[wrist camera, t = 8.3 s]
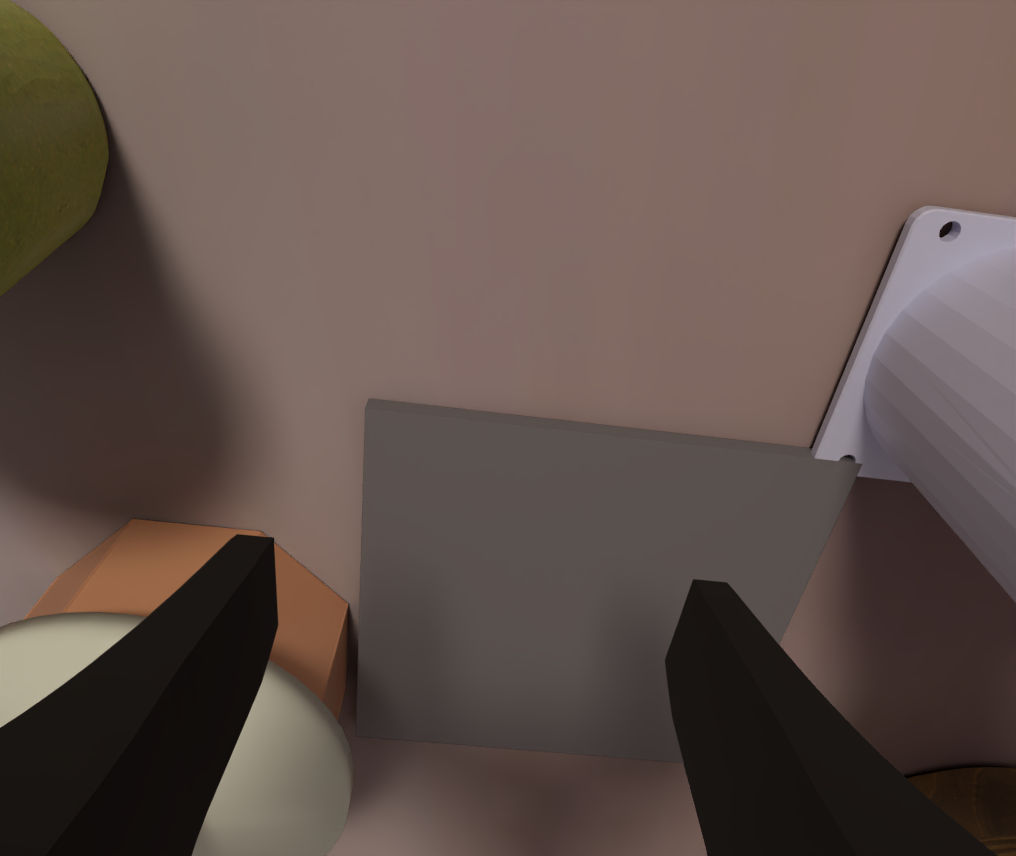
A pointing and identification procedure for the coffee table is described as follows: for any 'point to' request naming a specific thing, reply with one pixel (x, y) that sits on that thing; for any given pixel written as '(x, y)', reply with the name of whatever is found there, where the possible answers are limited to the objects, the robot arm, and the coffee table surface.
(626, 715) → the mat
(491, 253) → the coffee table surface
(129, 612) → the bowl
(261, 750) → the lid
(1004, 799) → the wooden container
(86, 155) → the plant pot
